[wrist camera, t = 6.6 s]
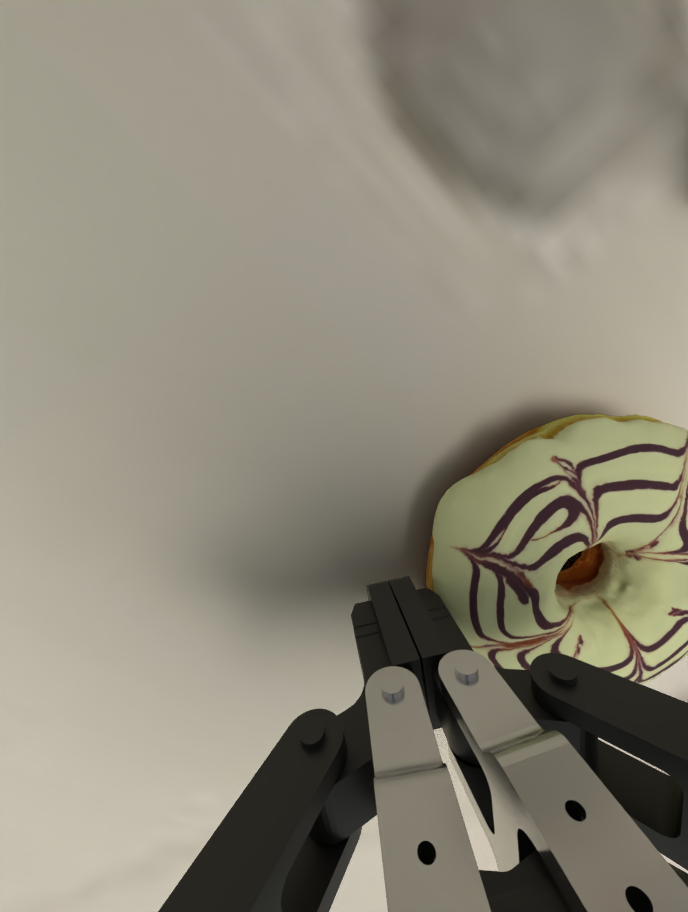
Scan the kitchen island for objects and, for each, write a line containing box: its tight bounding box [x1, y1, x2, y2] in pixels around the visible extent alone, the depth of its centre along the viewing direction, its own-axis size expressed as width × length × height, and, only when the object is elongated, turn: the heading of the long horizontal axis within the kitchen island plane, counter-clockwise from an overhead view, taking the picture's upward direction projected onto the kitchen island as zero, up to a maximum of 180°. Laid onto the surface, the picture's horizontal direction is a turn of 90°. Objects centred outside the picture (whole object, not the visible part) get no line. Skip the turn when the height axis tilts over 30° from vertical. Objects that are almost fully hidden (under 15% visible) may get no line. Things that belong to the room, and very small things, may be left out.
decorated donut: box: [426, 414, 688, 684], centre depth 13 cm, size 10×11×4 cm
